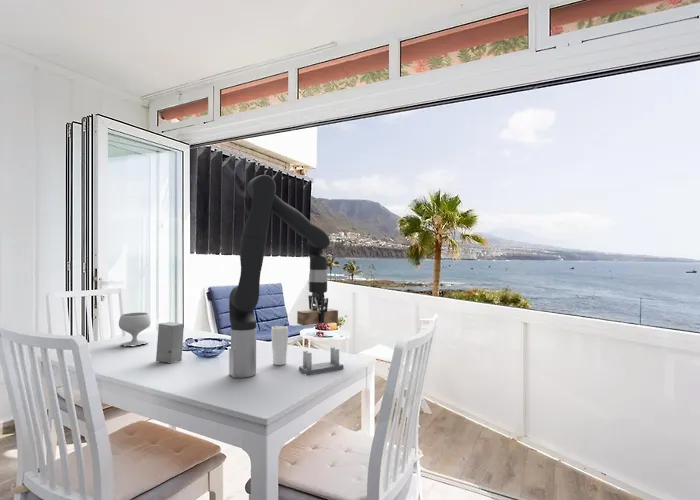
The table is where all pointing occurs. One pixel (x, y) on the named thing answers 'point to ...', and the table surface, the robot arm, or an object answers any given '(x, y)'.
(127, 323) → the chalice
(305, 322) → the brown rectangular block
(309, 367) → the peg stand
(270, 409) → the table surface
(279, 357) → the drinking glass
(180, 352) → the skincare box
